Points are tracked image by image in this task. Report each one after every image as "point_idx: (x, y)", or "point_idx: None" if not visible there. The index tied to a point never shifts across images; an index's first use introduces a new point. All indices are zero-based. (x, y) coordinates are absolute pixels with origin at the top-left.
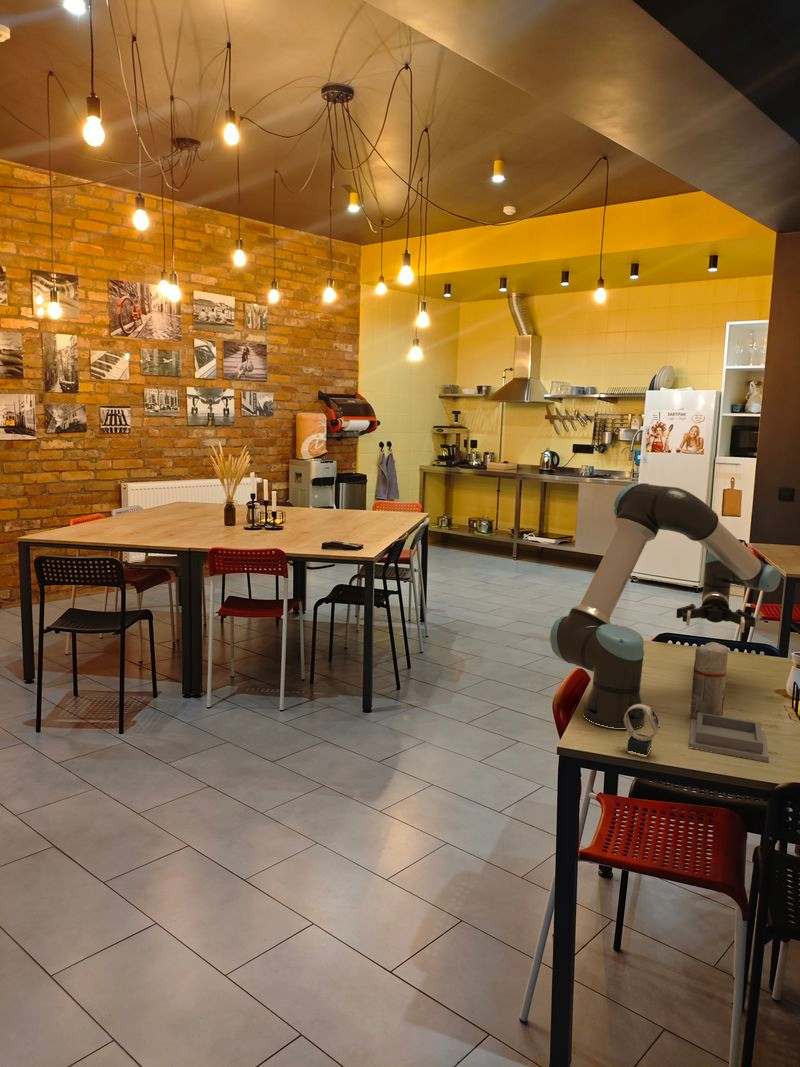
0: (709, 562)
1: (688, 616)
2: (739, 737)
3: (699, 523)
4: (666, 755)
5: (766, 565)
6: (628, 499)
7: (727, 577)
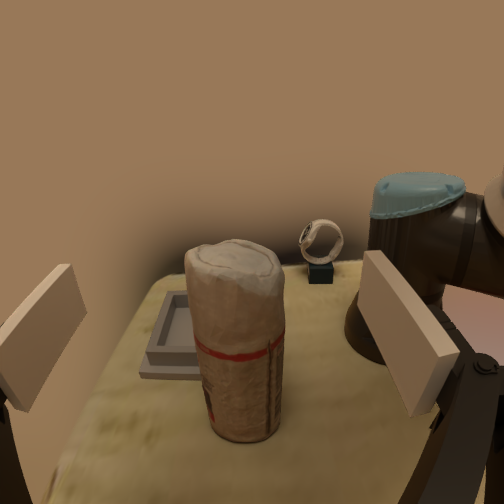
0: None
1: (372, 253)
2: (190, 335)
3: None
4: (288, 280)
5: None
6: None
7: None
